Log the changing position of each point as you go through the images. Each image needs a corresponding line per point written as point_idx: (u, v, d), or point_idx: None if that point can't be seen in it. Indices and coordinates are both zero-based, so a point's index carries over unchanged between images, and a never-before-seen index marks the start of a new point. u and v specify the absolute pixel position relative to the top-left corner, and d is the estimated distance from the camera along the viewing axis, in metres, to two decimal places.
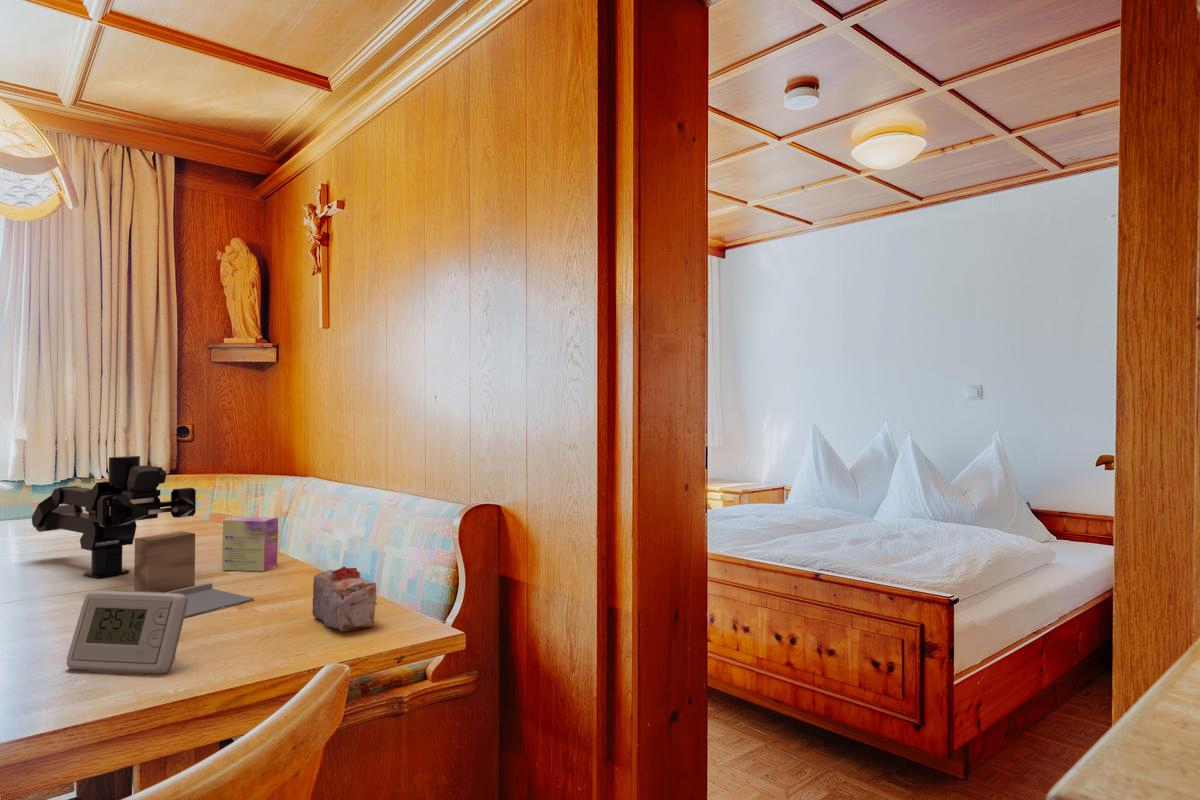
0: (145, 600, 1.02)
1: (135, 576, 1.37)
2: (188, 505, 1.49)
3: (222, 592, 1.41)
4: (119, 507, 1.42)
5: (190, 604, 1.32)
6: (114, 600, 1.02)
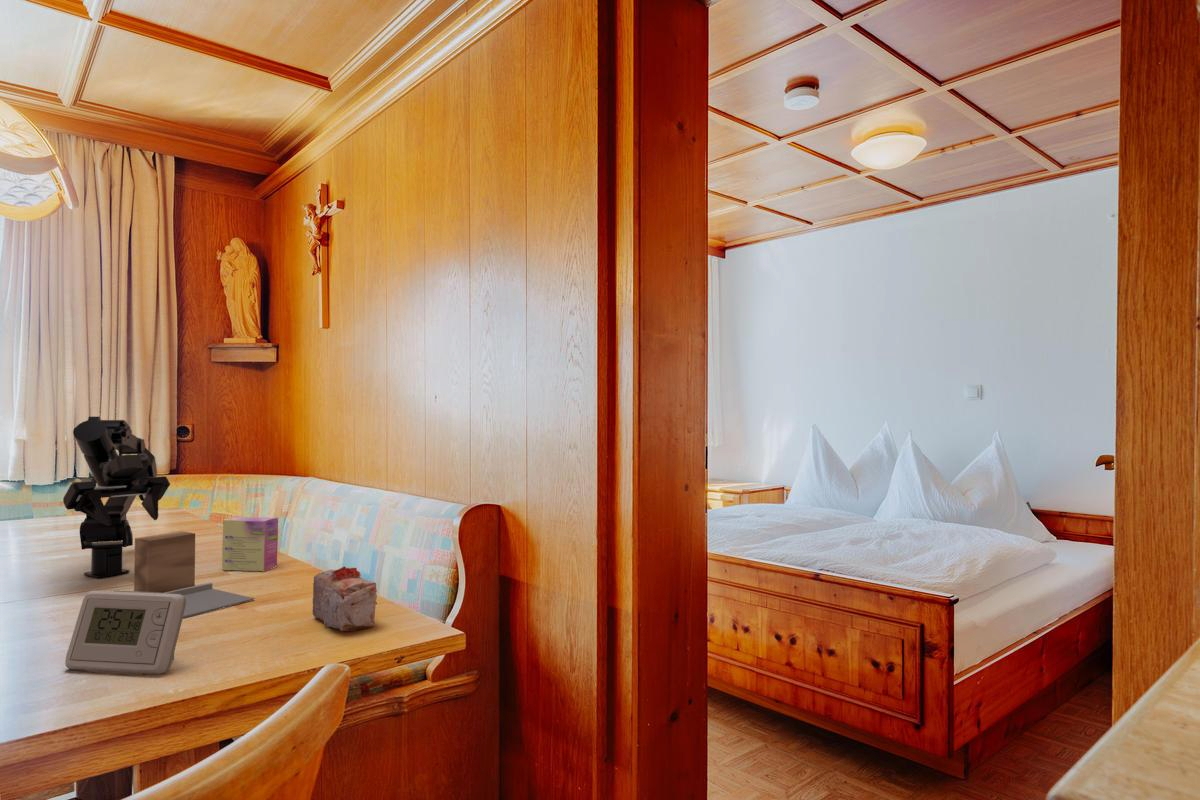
0: (144, 600, 1.02)
1: (135, 576, 1.37)
2: (152, 512, 1.51)
3: (222, 592, 1.41)
4: (88, 499, 1.43)
5: (190, 604, 1.32)
6: (113, 601, 1.02)
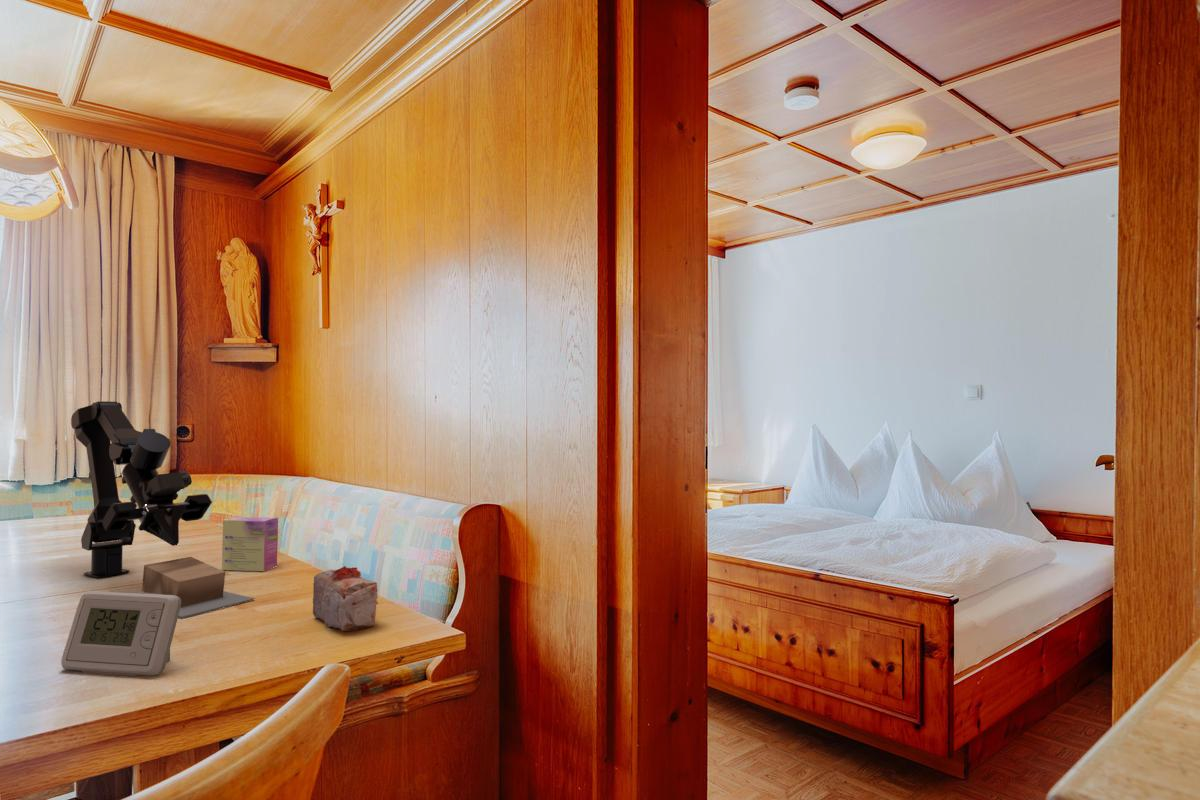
0: (139, 601, 1.01)
1: (156, 573, 1.33)
2: None
3: None
4: (153, 518, 1.38)
5: None
6: (109, 601, 1.02)
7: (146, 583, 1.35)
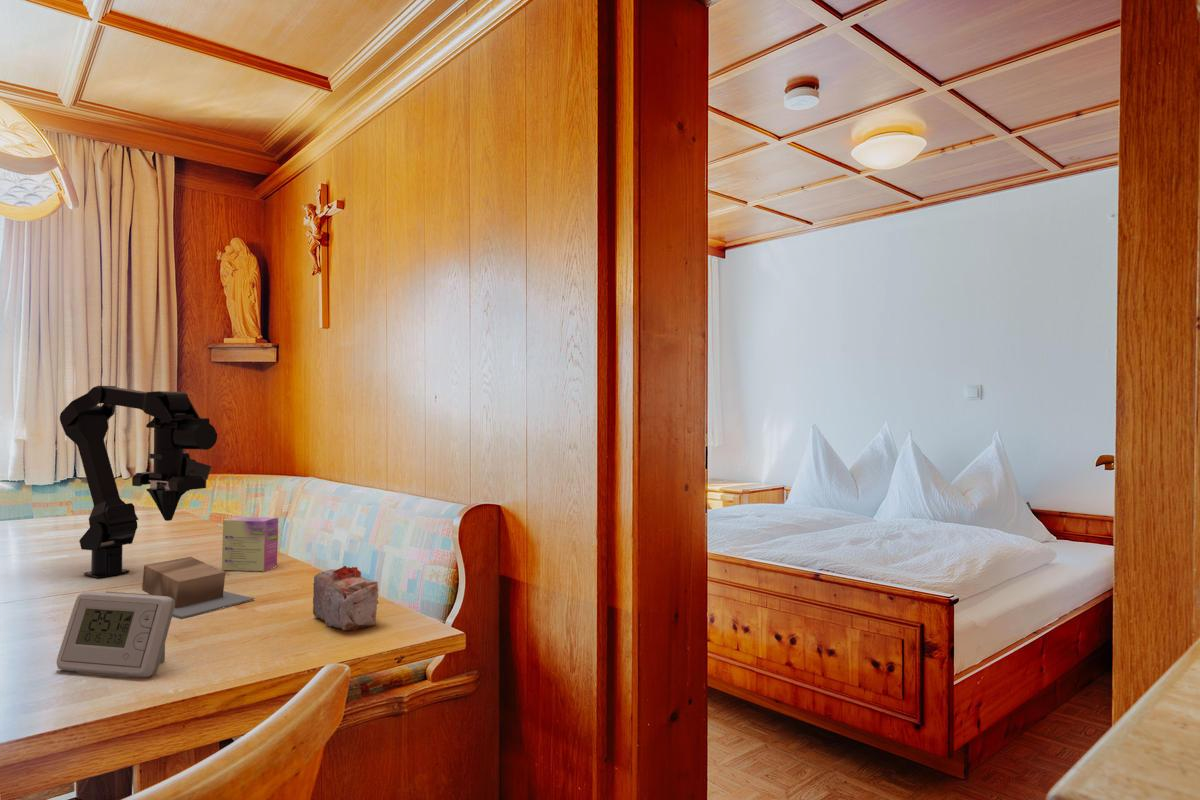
0: (133, 602, 1.01)
1: (156, 573, 1.33)
2: None
3: None
4: (178, 491, 1.52)
5: None
6: (104, 602, 1.01)
7: (146, 583, 1.35)
